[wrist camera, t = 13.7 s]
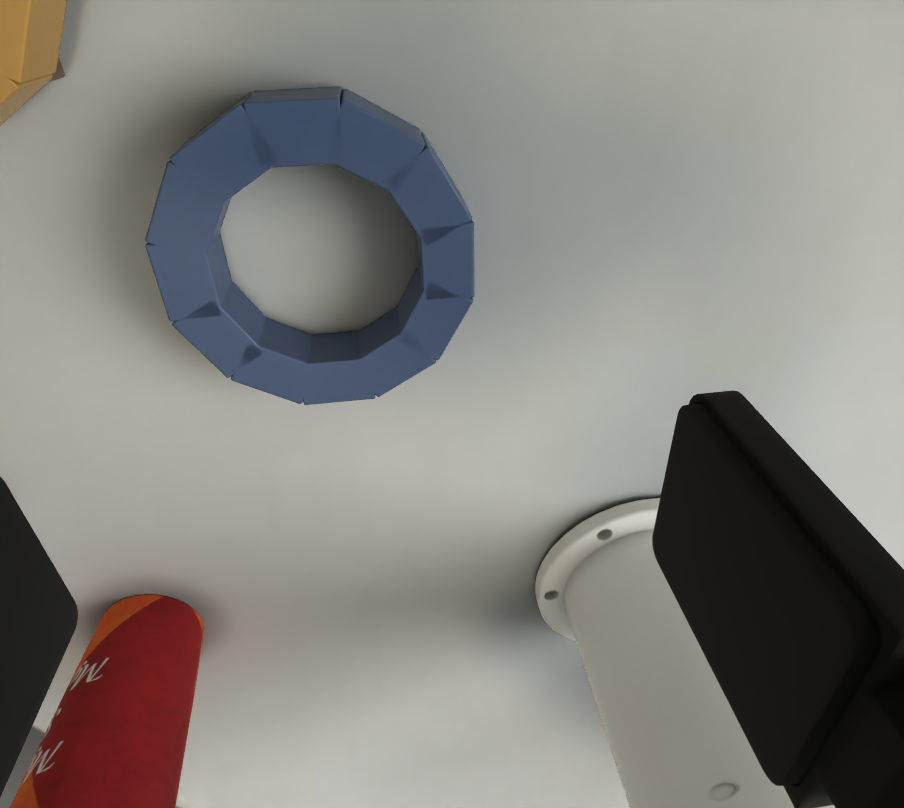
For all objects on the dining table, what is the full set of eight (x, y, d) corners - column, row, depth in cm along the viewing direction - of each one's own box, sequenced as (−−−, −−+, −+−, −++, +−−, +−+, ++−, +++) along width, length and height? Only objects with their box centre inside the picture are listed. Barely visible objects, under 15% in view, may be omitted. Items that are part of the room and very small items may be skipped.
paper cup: (69, 581, 34) (-81, 895, 22) (218, 581, 35) (149, 876, 23) (95, 667, 38) (-20, 966, 26) (226, 663, 39) (172, 947, 28)
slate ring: (462, 80, 22) (472, 90, 20) (467, 360, 29) (475, 389, 27) (125, 97, 21) (100, 110, 19) (210, 383, 28) (199, 415, 26)
